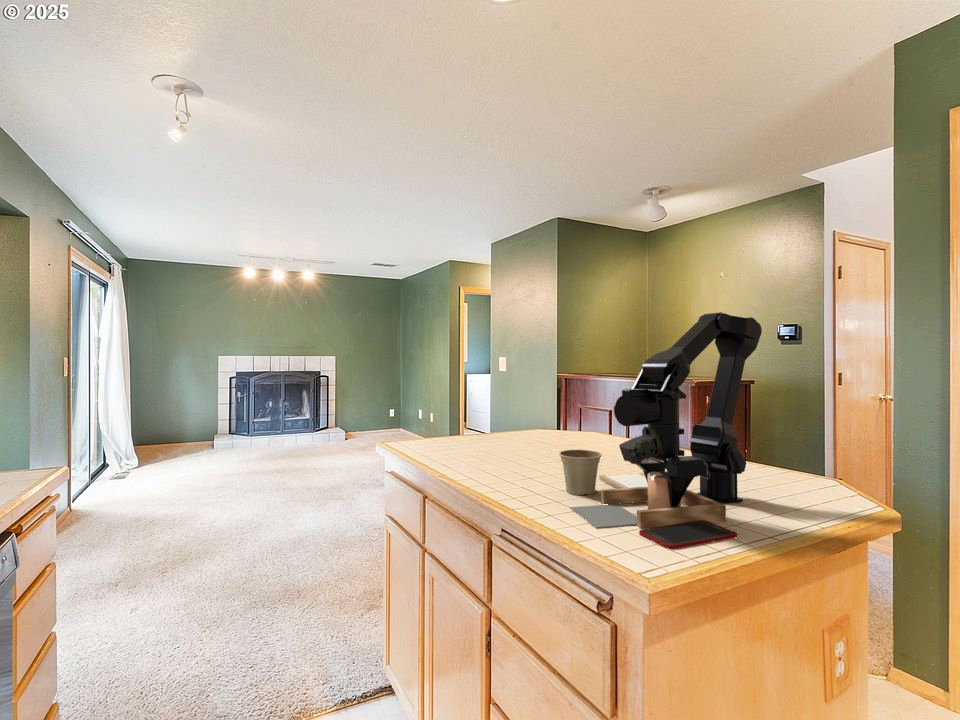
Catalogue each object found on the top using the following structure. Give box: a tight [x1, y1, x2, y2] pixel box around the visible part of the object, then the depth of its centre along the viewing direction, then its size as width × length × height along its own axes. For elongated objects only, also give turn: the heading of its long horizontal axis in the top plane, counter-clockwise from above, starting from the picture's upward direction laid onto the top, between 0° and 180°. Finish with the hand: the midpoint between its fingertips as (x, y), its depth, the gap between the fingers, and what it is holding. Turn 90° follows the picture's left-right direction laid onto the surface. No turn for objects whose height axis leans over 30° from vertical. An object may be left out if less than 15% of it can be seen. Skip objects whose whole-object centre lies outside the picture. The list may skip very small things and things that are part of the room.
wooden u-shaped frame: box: [600, 487, 727, 529], centre depth 95 cm, size 17×15×3 cm
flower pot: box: [558, 449, 603, 496], centre depth 110 cm, size 9×9×9 cm
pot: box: [647, 470, 682, 509], centre depth 95 cm, size 6×6×7 cm
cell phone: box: [638, 520, 739, 550], centre depth 82 cm, size 8×15×1 cm, turn 111°
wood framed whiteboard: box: [598, 472, 648, 489], centre depth 114 cm, size 17×12×1 cm
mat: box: [569, 504, 637, 529], centre depth 92 cm, size 10×12×1 cm
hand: (664, 503), depth 95 cm, fingers closed on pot, 6 cm apart
